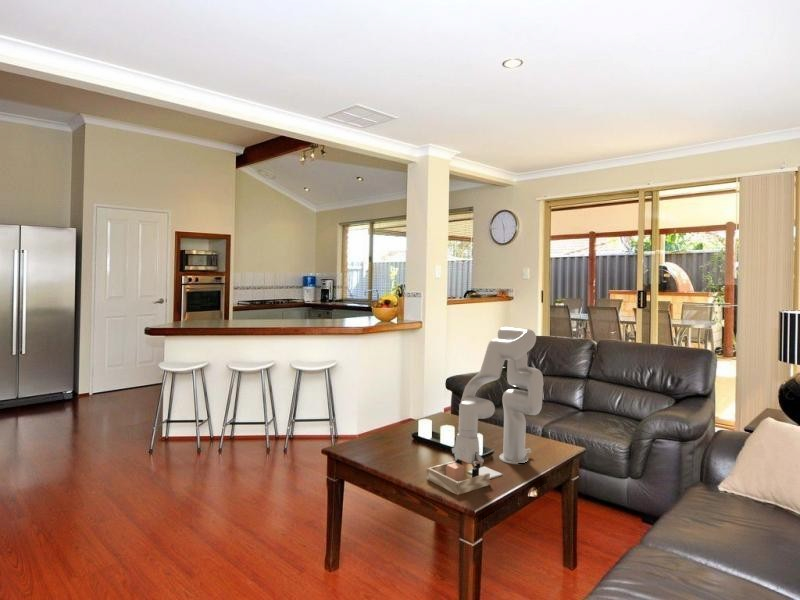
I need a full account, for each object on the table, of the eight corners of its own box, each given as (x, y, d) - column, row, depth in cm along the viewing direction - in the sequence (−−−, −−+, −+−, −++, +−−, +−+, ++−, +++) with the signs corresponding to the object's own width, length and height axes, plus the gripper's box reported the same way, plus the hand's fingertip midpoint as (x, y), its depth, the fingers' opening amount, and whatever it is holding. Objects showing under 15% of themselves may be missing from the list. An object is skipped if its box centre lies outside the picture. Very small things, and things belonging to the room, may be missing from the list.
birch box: (458, 470, 218) (458, 459, 218) (489, 484, 204) (489, 473, 203) (426, 479, 208) (427, 468, 208) (457, 495, 194) (457, 483, 193)
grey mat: (484, 467, 222) (484, 466, 222) (502, 475, 214) (502, 473, 214) (467, 472, 216) (467, 471, 216) (484, 480, 208) (484, 479, 208)
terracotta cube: (455, 479, 208) (455, 462, 208) (464, 483, 204) (464, 466, 204) (446, 482, 205) (446, 464, 205) (454, 486, 201) (455, 468, 201)
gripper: (446, 428, 212) (445, 469, 213) (476, 439, 199) (475, 483, 199) (459, 425, 217) (458, 466, 218) (490, 436, 203) (489, 479, 204)
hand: (466, 474), depth 208 cm, fingers open, 9 cm apart
